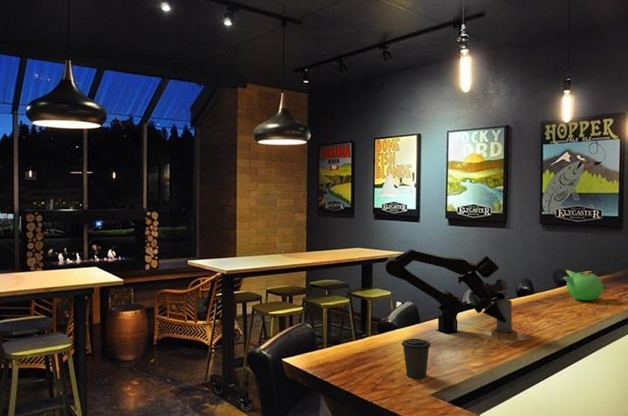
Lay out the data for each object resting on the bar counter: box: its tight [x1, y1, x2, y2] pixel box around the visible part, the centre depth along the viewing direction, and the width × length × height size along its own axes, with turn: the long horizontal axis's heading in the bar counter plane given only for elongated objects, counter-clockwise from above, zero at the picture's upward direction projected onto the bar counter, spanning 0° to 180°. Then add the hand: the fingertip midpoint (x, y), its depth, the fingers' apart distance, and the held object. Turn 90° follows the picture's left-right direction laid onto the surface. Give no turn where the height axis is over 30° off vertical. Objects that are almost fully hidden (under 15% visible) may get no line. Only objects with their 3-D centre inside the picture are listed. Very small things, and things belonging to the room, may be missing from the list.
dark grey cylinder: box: [496, 299, 513, 334], centre depth 172 cm, size 5×5×13 cm
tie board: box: [478, 327, 532, 344], centre depth 174 cm, size 13×13×2 cm
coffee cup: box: [401, 338, 431, 380], centre depth 135 cm, size 8×8×10 cm
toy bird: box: [563, 269, 604, 302], centre depth 238 cm, size 18×17×15 cm
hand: (508, 320), depth 171 cm, fingers closed on dark grey cylinder, 5 cm apart
